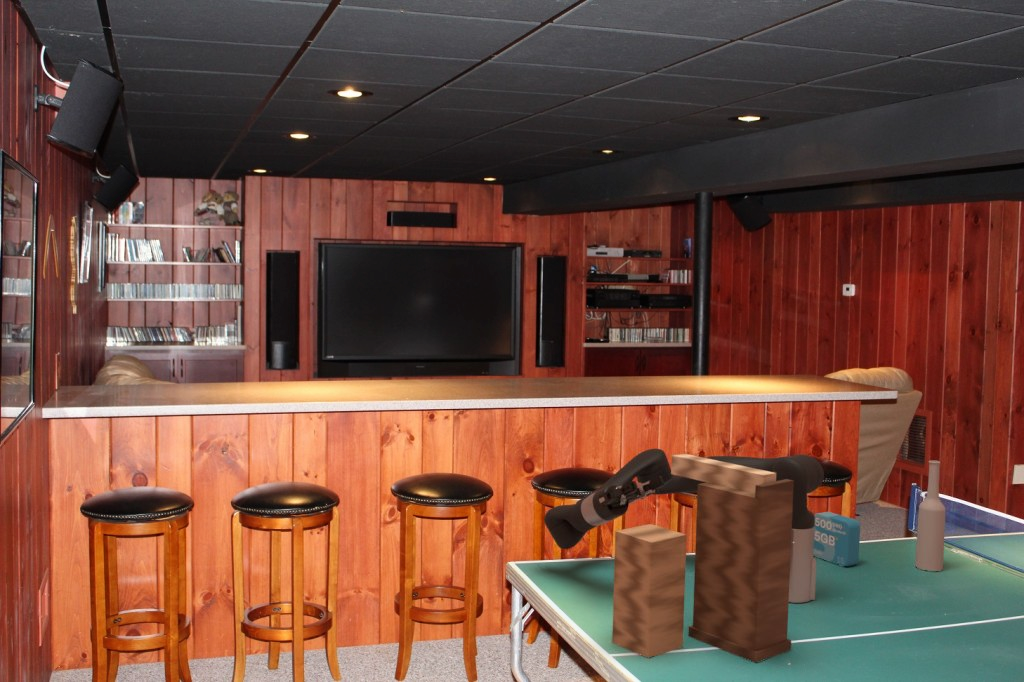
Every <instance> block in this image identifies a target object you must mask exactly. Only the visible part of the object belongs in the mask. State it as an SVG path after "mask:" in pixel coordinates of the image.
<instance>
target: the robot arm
mask: <svg viewBox="0 0 1024 682" xmlns="http://www.w3.org/2000/svg"><path fill="white" fill-rule="evenodd" d="M706 458H708V459H712V460H717V461H722V462H727V463H731V464H736V465H741V466H745V467H750V468H755V469H760V470H764V471H769V472H774V473H776V481H780V480H785V479H789V480H793V481H794V486H793V510H792V533H791V557H790V581H789V603H798V604H799V603H800V604H801V603H806V602H809V601H815V600H816V582H817V558H816V557H814V556H813V548H814V526H815V516H814V515H815V514H814V513H813V512H812V511H810V510H809V509H808V508H809V507H808V494H811V493H812V492H814V491H816V490H817V489H818V488H819V487H820V486H821V485H822V483H823V481H824V478H825V473H824V468H823V466H822V464H821V463H820V462H819V461H818V460H817V459H816V458H814V457H812V456H809V455H807V454H795V455H789V456H780V457H769V458H767V457H765V458H763V457H754V456H753V457H752V456H735V455H733V456H732V455H715V456H714V455H711V456H707V457H706ZM635 478H636V480H637V482H636V481H635V480H634V479H635ZM702 483H707V482H703V481H699V480H695V479H691V478H687V477H682V476H678V475H674V474H671V466H670V463H669V460H668V456H667V454H666V453H665V451H664V450H663V449H660V448H650V449H647V450H644V451H641V452H640V453H637V455H635V456H634V457H633V458H631V459H630V460H628V462H627V463H625V465H624V466H623V467H621V468H620V469H618V471H617V472H615V474H613V476H611V477H610V478H609V479H608V480H607V481H606V482H604V483H603V484H602V485H601V486H599V487H598V488H596V489H594V490H593V491H592V492H590V493H588V494H587V495H585V496H583V497H582V498H580V499H579V500H577V501H576V503H573V504H560V505H556V506H553V507H551V508H550V509H549V510H548V511H546V513H545V514H544V518H543V521H544V524H545V527H546V528H547V530H548V532H549V533H550V535H551V537H552V538H553V540H554V542H555V544H556V545H557V547H558V548H560V549H562V550H569V549H572V548H574V547H576V545H578V543H580V541H581V540H582V539H583V538H584V536H585V535H586V533H587V532H588V531H590V530H593V529H595V528H597V527H598V526H602V525H605V524H607V523H610V522H612V521H614V520H615V519H618V518H619V517H621V516H623V515H625V514H626V513H627V512H628V509H629V505H630V504H634V503H635V502H636V501H639V500H644V499H645V498H647V497H650V496H651V495H656V496H658V495H671V494H672V495H673V494H682V493H683V494H684V493H697V491H698V484H702Z"/></svg>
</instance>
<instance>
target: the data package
mask: <svg viewBox="0 0 1024 682" xmlns="http://www.w3.org/2000/svg"><path fill="white" fill-rule="evenodd" d="M814 516H815V526H814V548H813V557H814V556H816V557H818V558H822V559H824V560H828V561H831V562H834V563H837V564H840V565H842V566H847V567H851V566H856V565H857V564H858V563H859V561H860V540H861V524H860V522H859V521H858V520H857V519H855V518H852V517H848V516H844V515H841V514H838V513H834V512H831V511H824V512H817V513H815V514H814ZM816 557H815V558H816ZM818 558H817V559H818ZM824 560H823V561H824ZM855 564H856V565H855ZM842 566H841V567H842Z"/></svg>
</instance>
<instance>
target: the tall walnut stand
mask: <svg viewBox="0 0 1024 682" xmlns="http://www.w3.org/2000/svg"><path fill="white" fill-rule="evenodd" d="M793 486H794V481H793V480H789V479H785V480H780V481H775V482H770V483H765V484H759V485H756V486H755V494H754V493H750V492H746V491H742V490H737V489H733V488H729V487H725V486H720V485H716V484H712V483H708V482H707V483H702V484H698V491H697V492H696V493H697V496H696V497H697V499H696V519H695V520H696V523H695V524H696V526H695V551H694V553H695V554H694V580H693V581H694V583H693V584H694V585H693V611H692V625H689V626H688V635H687V637H689V638H692V639H695V640H697V641H700V642H702V643H705V644H707V645H709V646H713V647H715V648H718V649H720V650H723V651H725V652H727V653H730V654H733V655H734V654H735V656H737V655H738V656H737V657H739V656H740V658H742V657H743V658H742V659H744V658H746V659H745V660H747V659H749V660H751V661H750V662H752V661H754V662H758V661H760V662H762V661H761V660H763V659H766V658H768V659H770V658H769V657H771V658H773V656H774V657H776V656H779V655H782V654H784V653H786V651H787V652H790V651H791V650H792V640H791V639H789V638H788V628H789V627H788V626H789V625H788V624H789V622H788V621H789V603H790V602H789V581H790V557H791V533H792V510H793ZM783 652H784V653H783ZM778 654H779V655H778ZM775 655H776V656H775ZM749 660H748V661H749ZM766 660H767V659H766ZM763 661H764V660H763ZM754 662H753V663H754ZM758 663H759V662H758Z"/></svg>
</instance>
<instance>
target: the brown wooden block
mask: <svg viewBox="0 0 1024 682" xmlns="http://www.w3.org/2000/svg"><path fill="white" fill-rule="evenodd" d="M670 468H671V474H673V475H675V476H682V477H687V478H691V479H695V480H699V481H703V482H708V483H712V484H716V485H720V486H725V487H729V488H733V489H737V490H742V491H746V492H750V493H754V494H755V486H756V485H759V484H765V483H770V482H775V481H776V473H774V472H769V471H764V470H760V469H755V468H750V467H745V466H741V465H736V464H731V463H727V462H722V461H717V460H712V459H708V458H707V457H701V456H697V455H693V454H688V453H680V454H679V453H678V454H672V455H671V466H670Z"/></svg>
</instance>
